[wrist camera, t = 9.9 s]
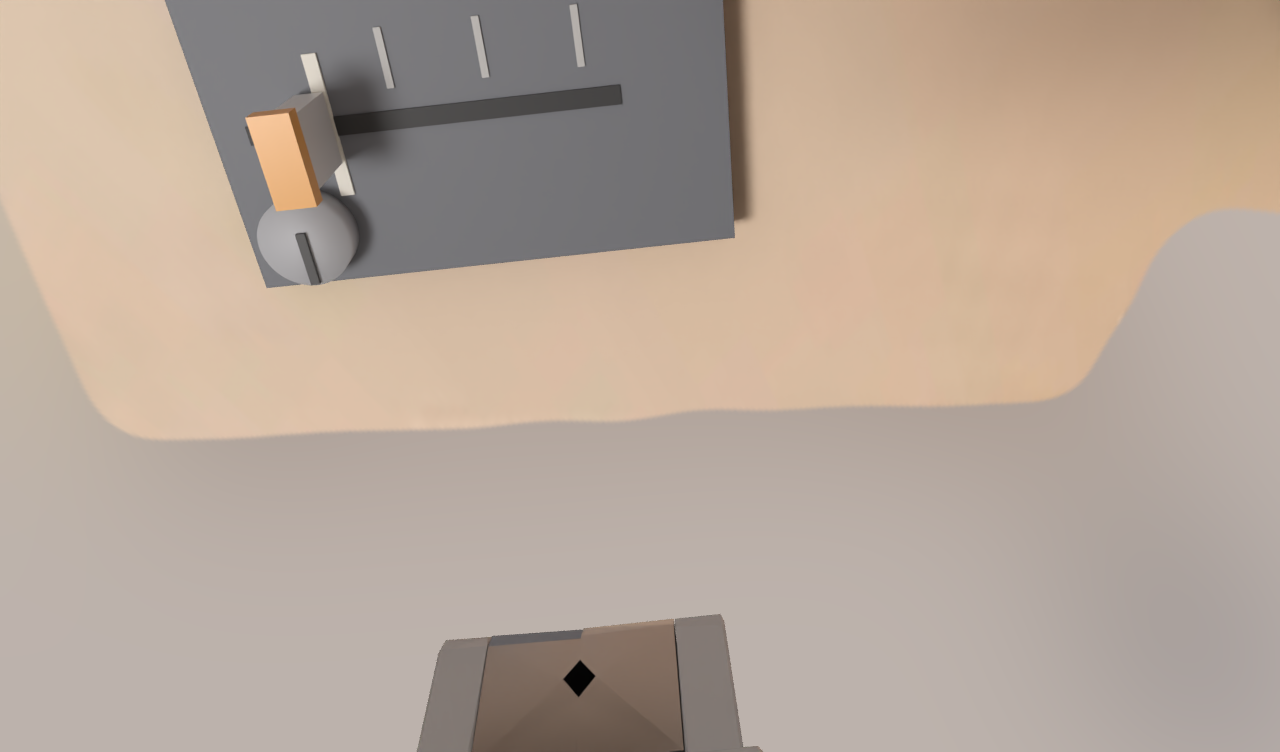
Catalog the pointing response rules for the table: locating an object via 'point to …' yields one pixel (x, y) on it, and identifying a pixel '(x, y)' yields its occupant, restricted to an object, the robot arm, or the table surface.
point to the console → (472, 127)
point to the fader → (295, 150)
